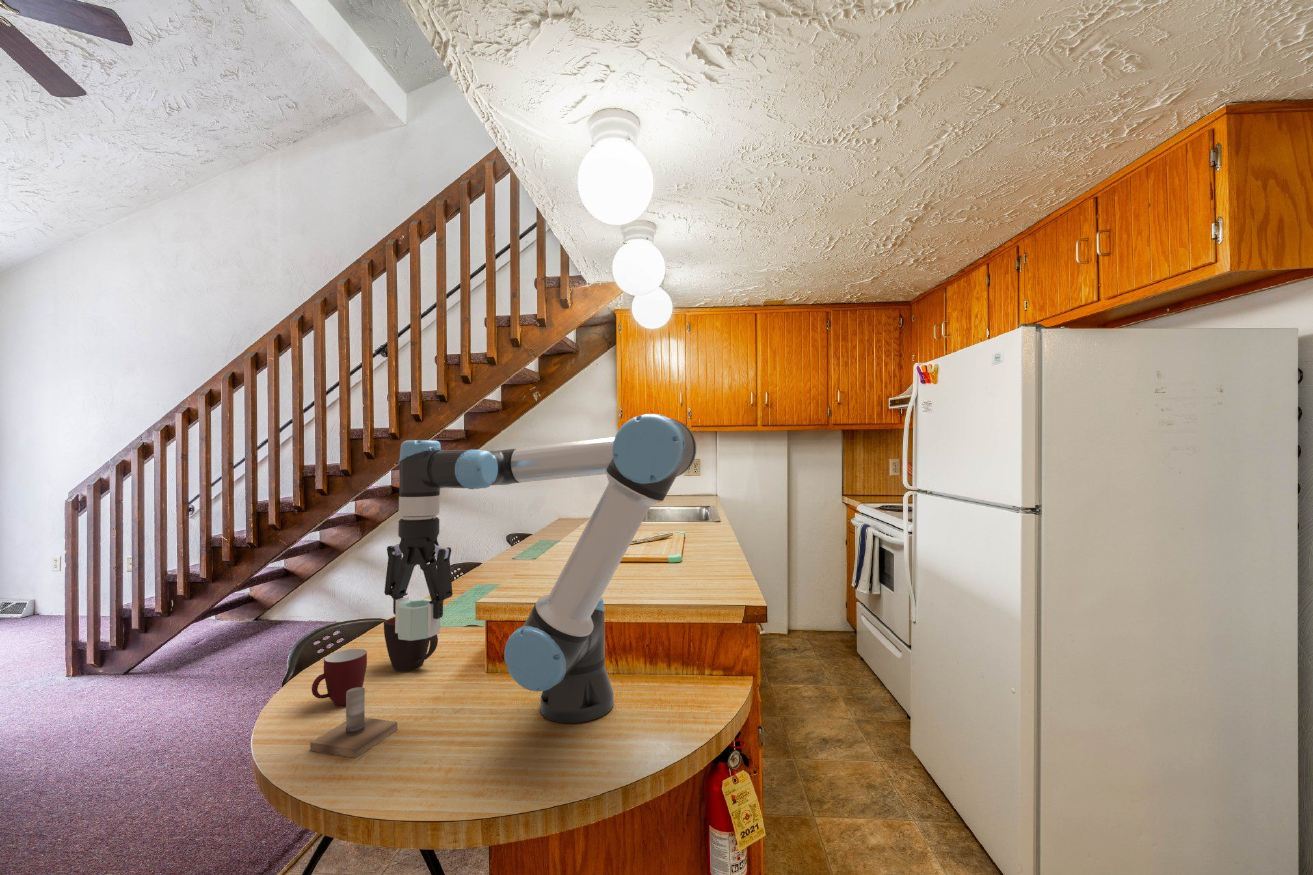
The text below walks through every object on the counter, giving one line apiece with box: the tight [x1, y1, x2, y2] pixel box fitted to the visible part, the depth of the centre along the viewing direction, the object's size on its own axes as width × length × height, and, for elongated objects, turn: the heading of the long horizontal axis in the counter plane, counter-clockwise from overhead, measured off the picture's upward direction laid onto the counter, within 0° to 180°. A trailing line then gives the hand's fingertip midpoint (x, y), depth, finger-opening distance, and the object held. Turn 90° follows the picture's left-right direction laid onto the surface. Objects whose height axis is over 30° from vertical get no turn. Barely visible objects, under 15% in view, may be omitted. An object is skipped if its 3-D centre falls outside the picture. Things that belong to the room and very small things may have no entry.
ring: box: [398, 598, 432, 641], centre depth 106 cm, size 7×7×6 cm
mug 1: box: [311, 648, 368, 707], centre depth 114 cm, size 10×8×10 cm
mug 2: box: [383, 616, 439, 673], centre depth 133 cm, size 10×14×12 cm
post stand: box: [309, 687, 398, 759], centre depth 99 cm, size 10×10×9 cm
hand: (417, 632), depth 106 cm, fingers closed on ring, 7 cm apart
